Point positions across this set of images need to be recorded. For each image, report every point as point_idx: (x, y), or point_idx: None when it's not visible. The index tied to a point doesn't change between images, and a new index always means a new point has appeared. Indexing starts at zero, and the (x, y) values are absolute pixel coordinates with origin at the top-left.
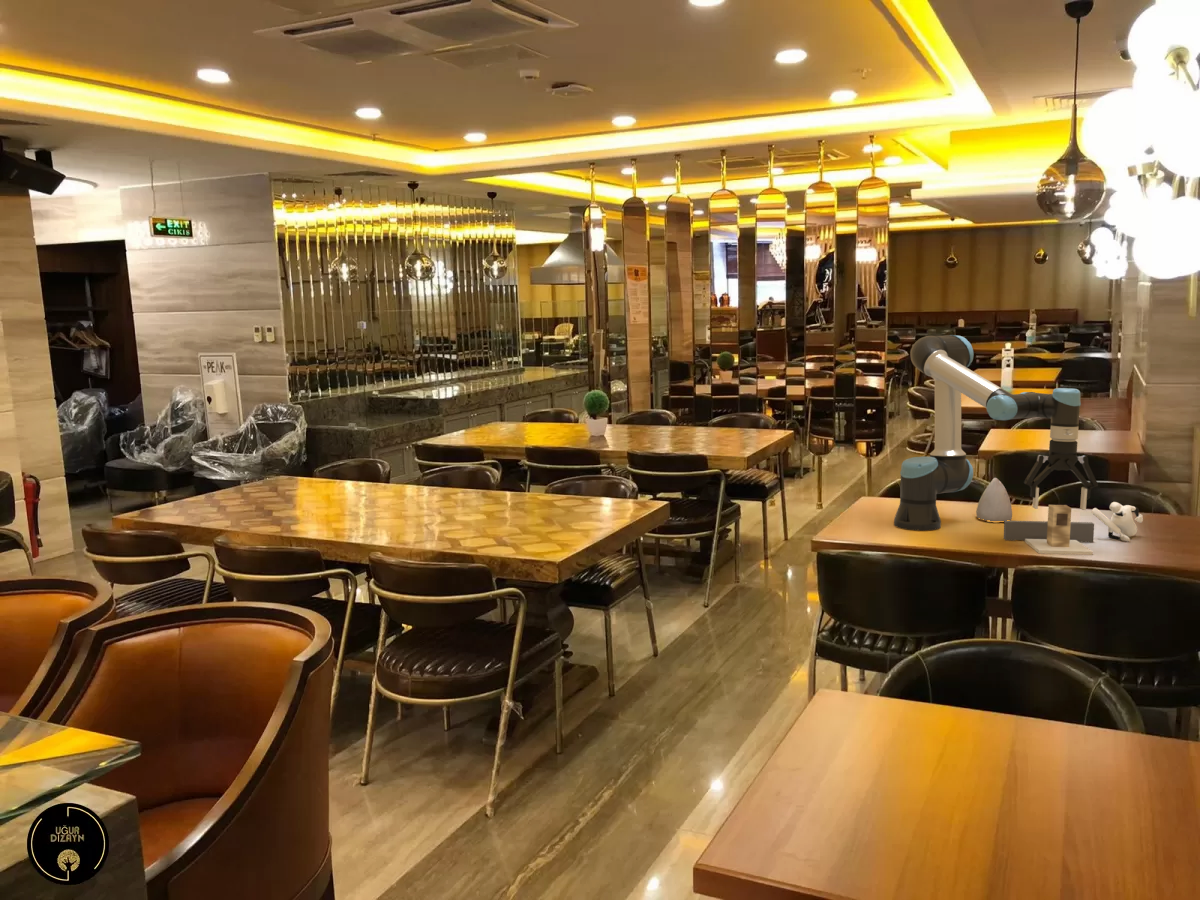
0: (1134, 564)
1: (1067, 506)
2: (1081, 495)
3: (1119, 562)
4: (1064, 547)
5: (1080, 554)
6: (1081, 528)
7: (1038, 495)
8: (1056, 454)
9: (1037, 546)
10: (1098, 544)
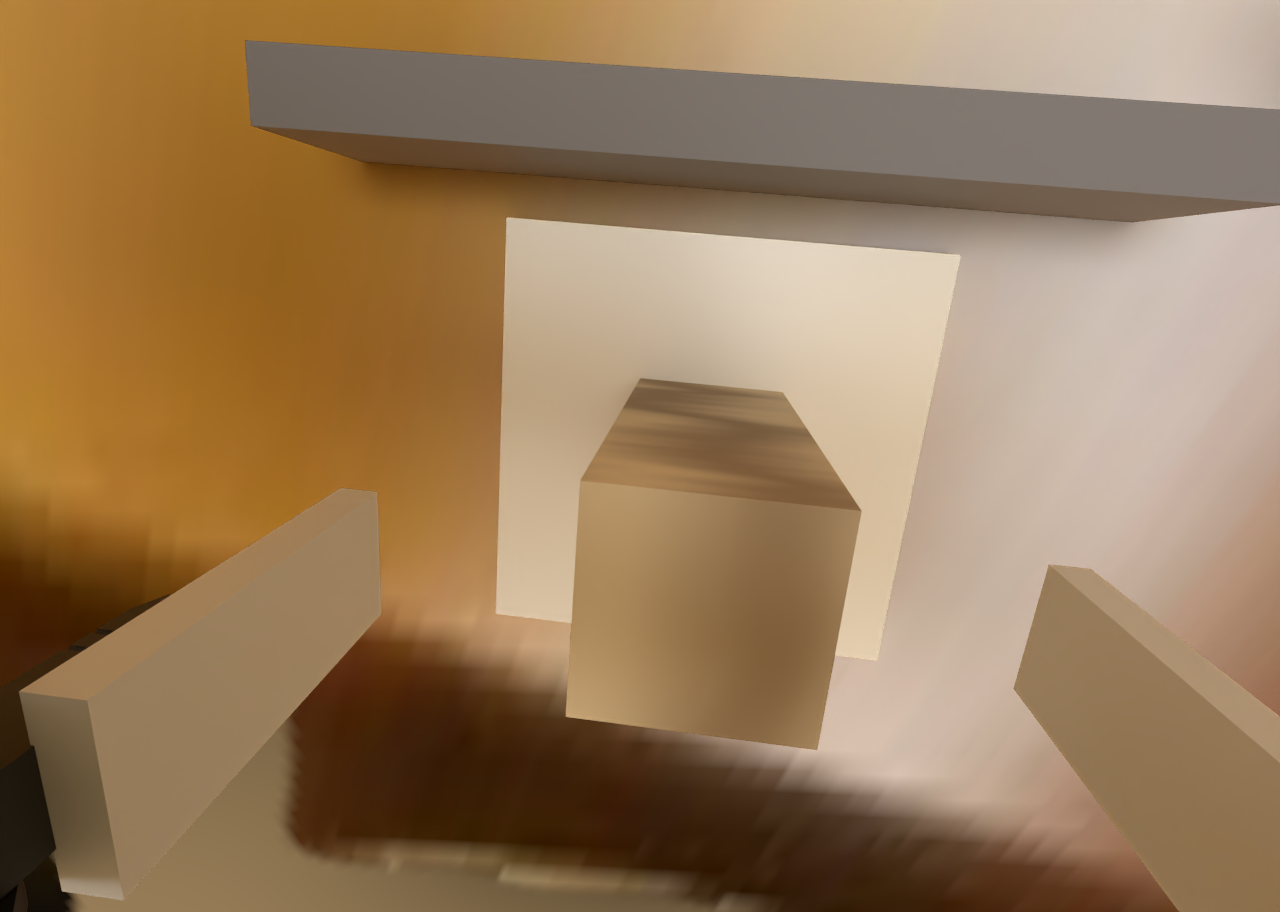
0: (1012, 868)
1: (827, 618)
2: (1199, 731)
3: (943, 823)
4: None
5: None
6: (1092, 200)
7: (250, 757)
8: None
9: (522, 503)
10: (1134, 299)
